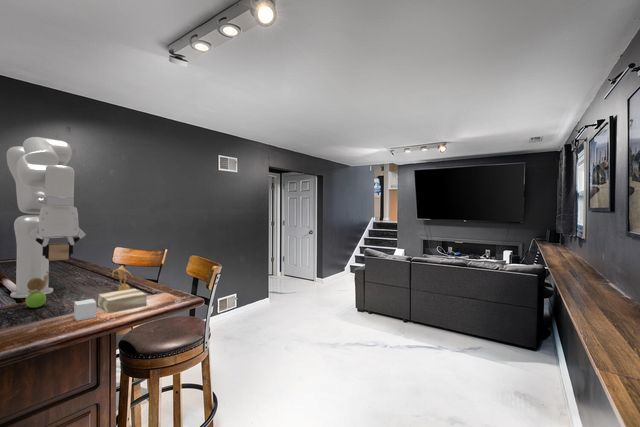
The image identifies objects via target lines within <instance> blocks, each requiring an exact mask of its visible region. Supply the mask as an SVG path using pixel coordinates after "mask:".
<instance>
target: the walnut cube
mask: <svg viewBox="0 0 640 427" xmlns="http://www.w3.org/2000/svg"><path fill="white" fill-rule="evenodd" d="M68 243H69V242H56V243H55V242H54V243H48V246H49V258H48V260H49V262H50V261H52V262H53V261H65V260H67V261H68V260H69V259H70V257H69V244H68Z"/></svg>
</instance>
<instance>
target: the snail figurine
mask: <svg viewBox="0 0 640 427" xmlns="http://www.w3.org/2000/svg"><path fill="white" fill-rule="evenodd" d="M46 273H48V275H45V276H44V281H43V280H42V279H40V278H33V279H31V280H30V281H29V282H28V284H27V287H28V289H30V290H28V292H29V293H31V294H29V295H28V296H27V298H25V304H26V306H27V307H29V308H31V309H36V308H39V307H42V306H43V305H44V304H45V303H46V301H47V296H46V295H47V294H46V295H45V294H44V293H42V292H40V291H42V290H43V289H44V288H45V287H46V285H47V281H48V282H49V275H50V274H49V273H50V271H49V272H48V271H47V272H46Z"/></svg>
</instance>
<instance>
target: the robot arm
mask: <svg viewBox="0 0 640 427" xmlns="http://www.w3.org/2000/svg"><path fill="white" fill-rule="evenodd" d="M72 154H73V151H72V147H71V145H70V144H69V143H68V142H66V141H64V140H60V139H55V138H54V139H52V138H49V137H41V136H31V137H28V138H26V139H25V140H24V141H23V142H22V146H20V145H19V146H12V147H9V148H8V150H7V151H6V163H7V167H8V169H9V171H10V174H11V175H12V177H13V179H14V182H15V190H16V200H17V201H16V202H17V207H18V209H19V211H20V212H22V213H24V215H21V216H18V217H17V218H16V219H15V220H14V222H13V223H14V224H13V228H14V229H13V230H14V234H15V240H16V272H15V274H16V277H15V278H16V282H15V291H12V292H11V293H10V297H11V298H15V299H24V298H25V299H26V298H27V296H28V295H29V294H31V293H29V292H28V290H30V289H28V287H27V284H28V282H29V281H30V280H31V279H33V278H40V279H42V280H43V281H44V276H45V275H48V273H46V272H47V271H48V272H49V273H50V269H49V268H50V267H49V266H50V264H49V262H50V261H49V260H48V258H49V246H48V244H49V242H50V239H56V238H57V239H58V238H59V239H61V238H66V239H67V243H68V244H69V258H71V256H72V255H74V245H75V244H76V243H77V242H78V241H79V240H81V239H83V238H85V236H87V234H86V233H85V231H83V230H82V229H81V228H80V225H79V213H78V208H77V207H76V206H74V204H75V202H74V199H75V198H74V197H75V169H74V168H73V167H71V166H69V165H67V164H68V163H69V162H70V160H71V158H72ZM25 214H26V215H25ZM40 292H42V293H44V294H45V295H50V294H52V293H53V292H54V288H53V287H49V280H48V281H47V285H46V287H45V288H44V289H43V290H42V291H40Z"/></svg>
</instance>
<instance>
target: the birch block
mask: <svg viewBox="0 0 640 427" xmlns="http://www.w3.org/2000/svg"><path fill="white" fill-rule="evenodd" d="M147 299H148V296H147V293H145V292H142V291H141V290H139V289H136V288H135V287H134V288H130V289H127V290H121V291H119V290H116V291H115V290H114V291H110V292H109V291H108V292H103V293H98V294H97V307H99V308H101V309H102V310H103V311H105V312H107V314H110V313H116V312H121V311H126V310H130V309H137V308H141V307H147V305H148V304H147V301H148V300H147Z"/></svg>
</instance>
